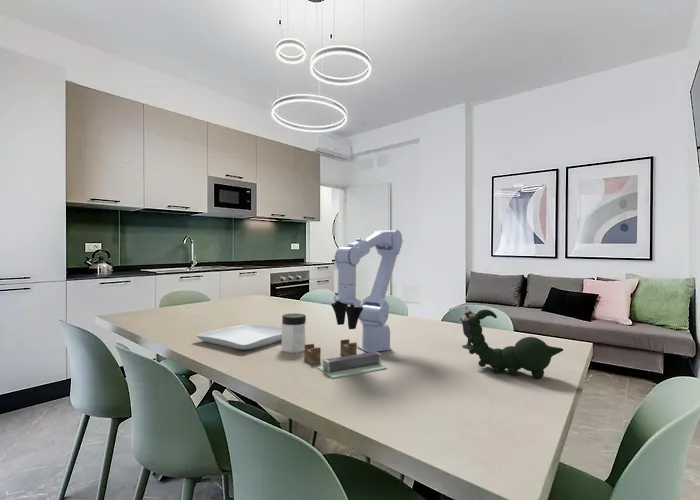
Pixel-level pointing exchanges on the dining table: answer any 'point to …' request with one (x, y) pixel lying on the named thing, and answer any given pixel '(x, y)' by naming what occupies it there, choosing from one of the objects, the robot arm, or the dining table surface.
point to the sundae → (466, 326)
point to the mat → (353, 371)
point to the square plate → (243, 336)
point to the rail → (351, 362)
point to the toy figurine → (510, 350)
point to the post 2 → (348, 348)
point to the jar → (293, 332)
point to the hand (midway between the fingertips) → (346, 326)
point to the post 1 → (312, 354)
